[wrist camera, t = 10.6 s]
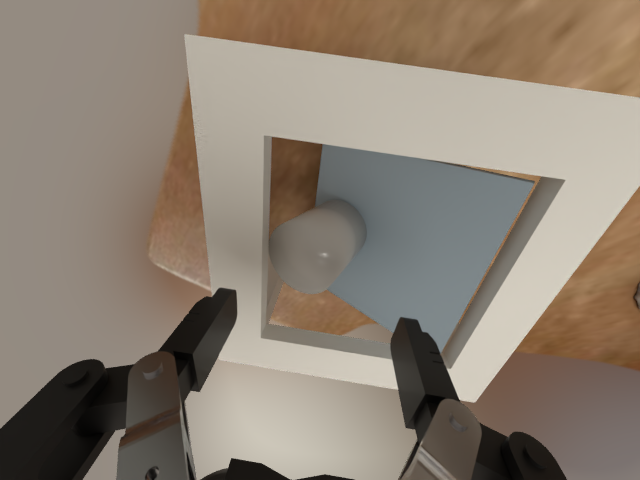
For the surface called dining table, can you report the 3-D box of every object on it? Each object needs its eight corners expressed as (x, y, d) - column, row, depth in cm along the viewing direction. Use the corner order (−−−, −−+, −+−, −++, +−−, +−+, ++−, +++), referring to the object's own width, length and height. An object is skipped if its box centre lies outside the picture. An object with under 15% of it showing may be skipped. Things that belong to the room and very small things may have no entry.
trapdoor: (331, 137, 20) (323, 137, 20) (534, 181, 13) (534, 183, 12) (312, 272, 27) (306, 276, 26) (440, 353, 19) (436, 361, 19)
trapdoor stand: (276, 80, 25) (184, 33, 10) (491, 111, 24) (700, 106, 10) (269, 260, 35) (218, 359, 21) (420, 284, 34) (474, 402, 20)
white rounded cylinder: (314, 193, 20) (269, 211, 16) (373, 209, 18) (342, 237, 14) (308, 246, 23) (267, 276, 18) (359, 265, 21) (329, 305, 16)
